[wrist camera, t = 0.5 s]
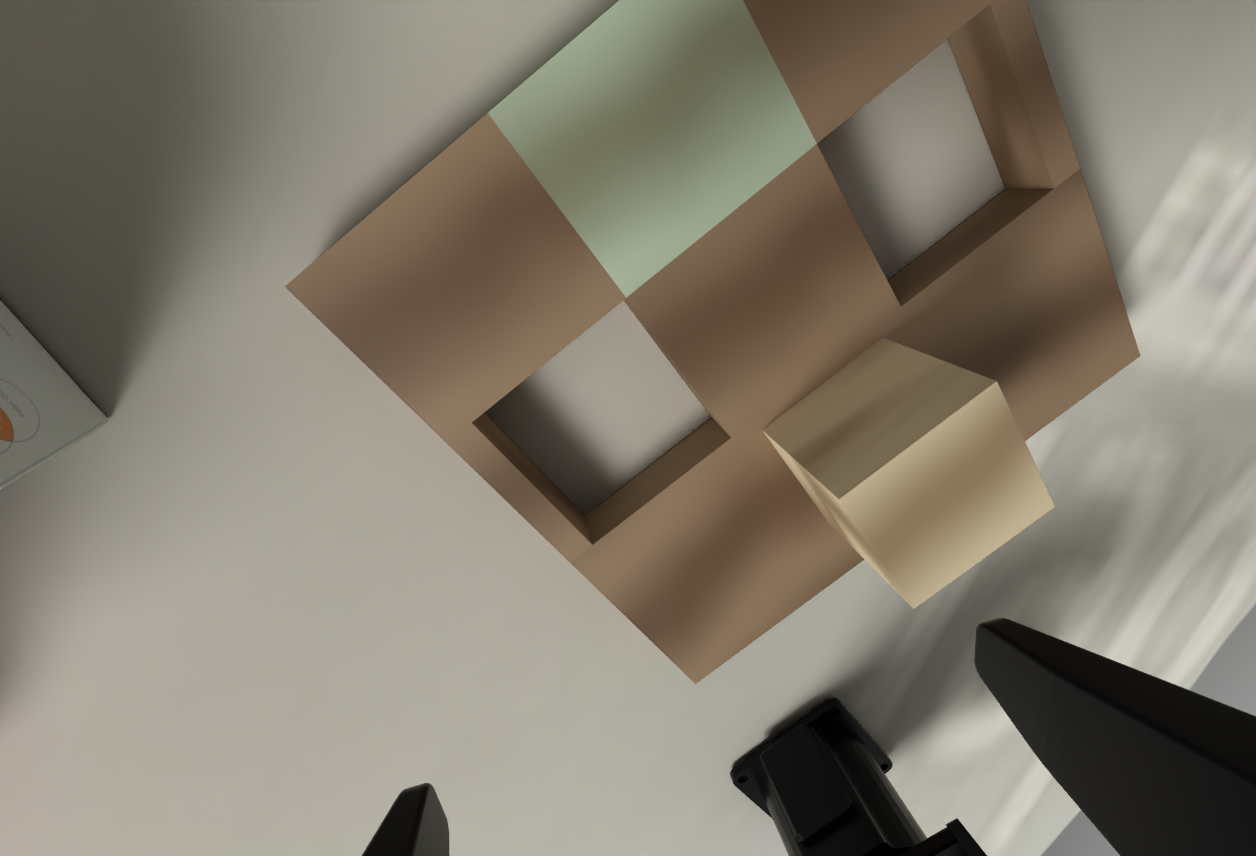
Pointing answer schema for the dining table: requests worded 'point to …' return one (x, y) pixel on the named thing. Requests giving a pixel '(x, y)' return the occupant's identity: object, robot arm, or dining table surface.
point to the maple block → (913, 465)
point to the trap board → (721, 277)
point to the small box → (36, 404)
